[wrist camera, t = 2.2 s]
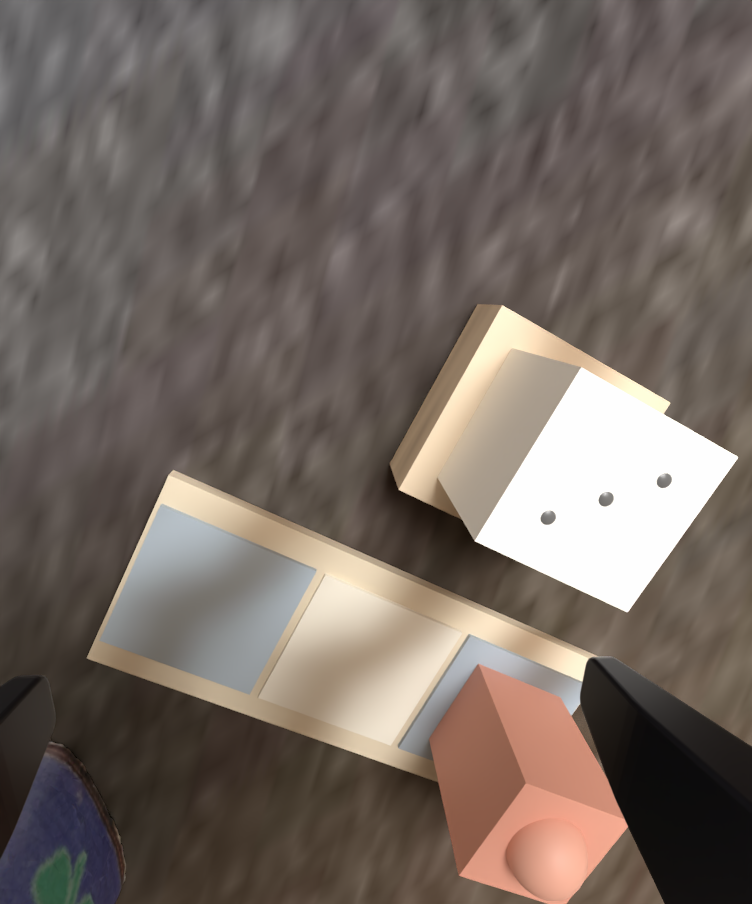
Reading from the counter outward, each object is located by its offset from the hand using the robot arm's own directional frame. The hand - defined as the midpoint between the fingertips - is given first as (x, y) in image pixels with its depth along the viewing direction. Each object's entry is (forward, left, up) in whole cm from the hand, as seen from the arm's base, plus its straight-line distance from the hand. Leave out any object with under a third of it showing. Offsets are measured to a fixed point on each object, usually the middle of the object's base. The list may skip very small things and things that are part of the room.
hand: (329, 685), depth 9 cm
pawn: (-12, +8, -12) cm, 19 cm away
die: (-6, -4, -10) cm, 12 cm away
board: (-5, +8, -13) cm, 16 cm away
